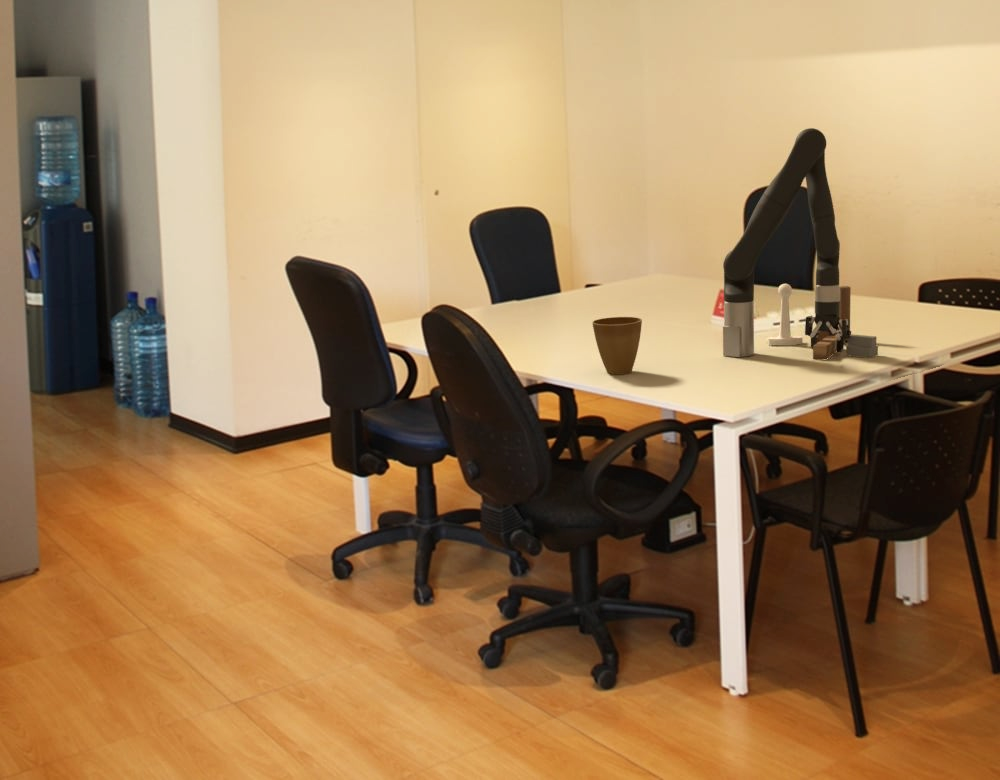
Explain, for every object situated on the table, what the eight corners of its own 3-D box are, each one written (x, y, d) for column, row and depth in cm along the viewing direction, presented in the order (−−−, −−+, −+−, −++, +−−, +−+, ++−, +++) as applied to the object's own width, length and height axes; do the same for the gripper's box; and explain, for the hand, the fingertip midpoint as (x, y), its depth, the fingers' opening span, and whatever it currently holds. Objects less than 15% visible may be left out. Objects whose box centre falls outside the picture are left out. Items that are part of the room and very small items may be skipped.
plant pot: (639, 366, 386) (637, 315, 382) (646, 375, 371) (645, 322, 368) (591, 368, 385) (589, 317, 382) (596, 378, 371) (595, 325, 367)
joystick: (770, 346, 407) (769, 285, 402) (764, 342, 414) (763, 282, 410) (803, 344, 407) (803, 283, 403) (797, 340, 414) (797, 280, 410)
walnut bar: (826, 360, 381) (826, 346, 380) (812, 360, 383) (813, 345, 382) (840, 350, 397) (840, 336, 396) (827, 349, 398) (827, 335, 397)
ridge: (869, 357, 381) (870, 338, 380) (846, 355, 386) (846, 336, 385) (877, 355, 384) (878, 336, 383) (854, 352, 390) (854, 333, 388)
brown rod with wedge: (816, 340, 412) (816, 286, 408) (849, 340, 411) (850, 285, 407) (817, 342, 409) (817, 288, 405) (851, 342, 407) (851, 287, 403)
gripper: (800, 299, 388) (800, 350, 392) (842, 302, 379) (841, 354, 382) (813, 296, 394) (813, 346, 397) (854, 299, 384) (853, 350, 387)
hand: (827, 350), depth 389 cm, fingers open, 8 cm apart
